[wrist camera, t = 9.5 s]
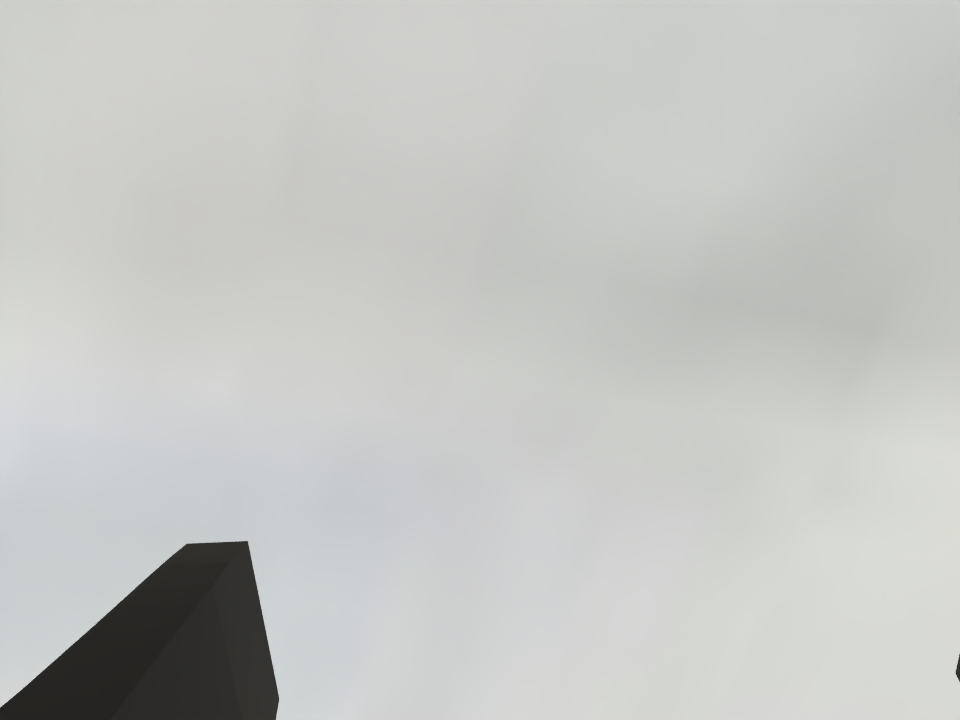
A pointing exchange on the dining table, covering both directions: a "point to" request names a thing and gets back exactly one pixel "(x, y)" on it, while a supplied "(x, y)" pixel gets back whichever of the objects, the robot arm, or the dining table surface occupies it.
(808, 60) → the dining table surface
